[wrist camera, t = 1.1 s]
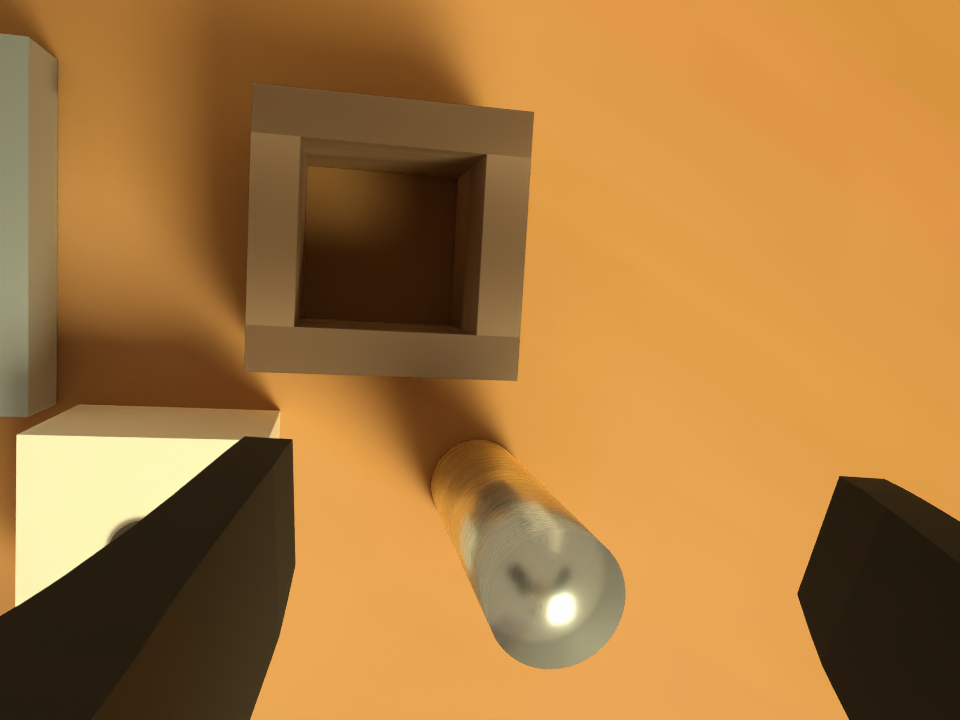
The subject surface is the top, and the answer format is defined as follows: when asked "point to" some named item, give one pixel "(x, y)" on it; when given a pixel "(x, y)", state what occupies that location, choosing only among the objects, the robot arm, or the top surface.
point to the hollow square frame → (395, 149)
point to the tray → (28, 226)
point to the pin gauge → (527, 558)
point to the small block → (109, 476)
